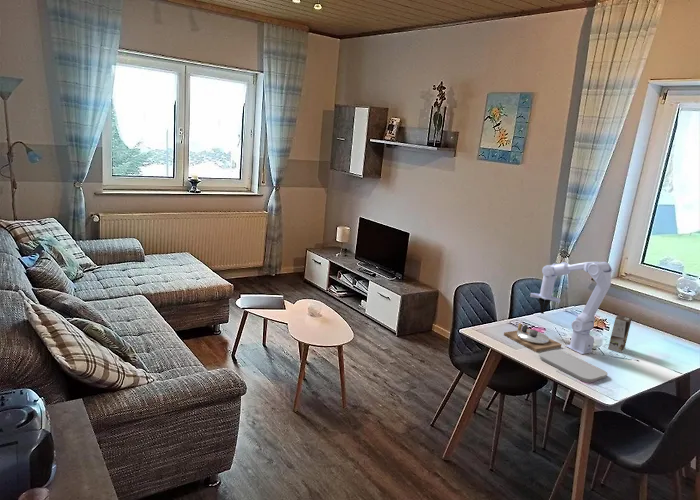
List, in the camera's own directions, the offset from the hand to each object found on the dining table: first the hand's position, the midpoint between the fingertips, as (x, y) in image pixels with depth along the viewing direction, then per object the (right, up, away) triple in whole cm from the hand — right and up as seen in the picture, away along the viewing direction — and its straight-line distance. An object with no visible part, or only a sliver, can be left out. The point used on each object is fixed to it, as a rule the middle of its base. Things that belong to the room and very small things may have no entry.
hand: (542, 313), depth 260 cm
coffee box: (+33, -17, -9) cm, 38 cm away
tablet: (-1, -20, -37) cm, 42 cm away
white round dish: (-9, -11, -12) cm, 18 cm away
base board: (-9, -12, -11) cm, 19 cm away
